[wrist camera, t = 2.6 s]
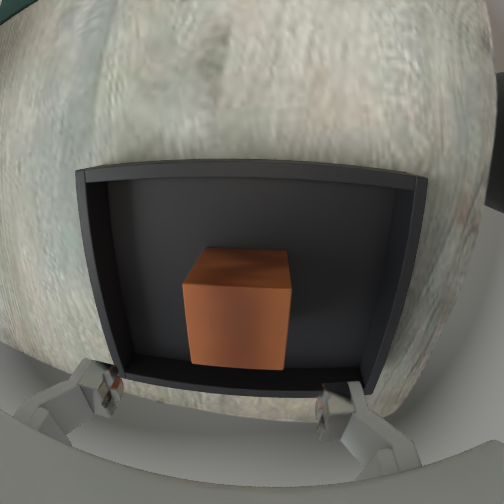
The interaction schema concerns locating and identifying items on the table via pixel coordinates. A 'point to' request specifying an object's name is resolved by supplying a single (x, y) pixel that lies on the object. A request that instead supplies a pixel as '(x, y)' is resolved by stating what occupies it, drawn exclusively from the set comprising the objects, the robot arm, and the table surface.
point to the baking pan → (252, 237)
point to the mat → (12, 8)
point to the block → (238, 308)
